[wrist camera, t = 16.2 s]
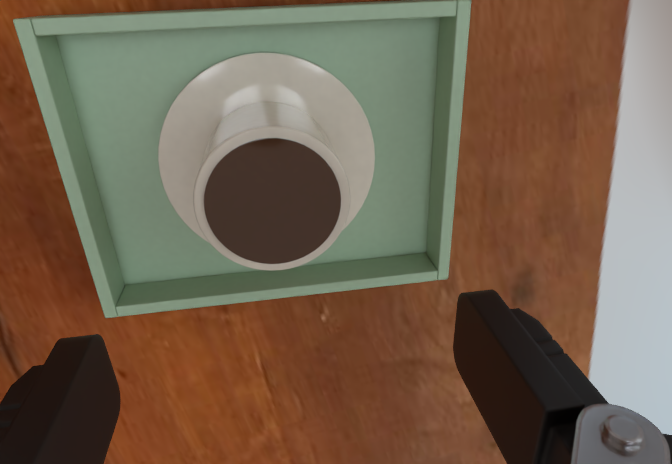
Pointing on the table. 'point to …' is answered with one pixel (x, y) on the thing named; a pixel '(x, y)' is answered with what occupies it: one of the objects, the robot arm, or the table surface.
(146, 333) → the table surface
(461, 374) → the robot arm
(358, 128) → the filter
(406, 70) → the tray
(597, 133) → the table surface
